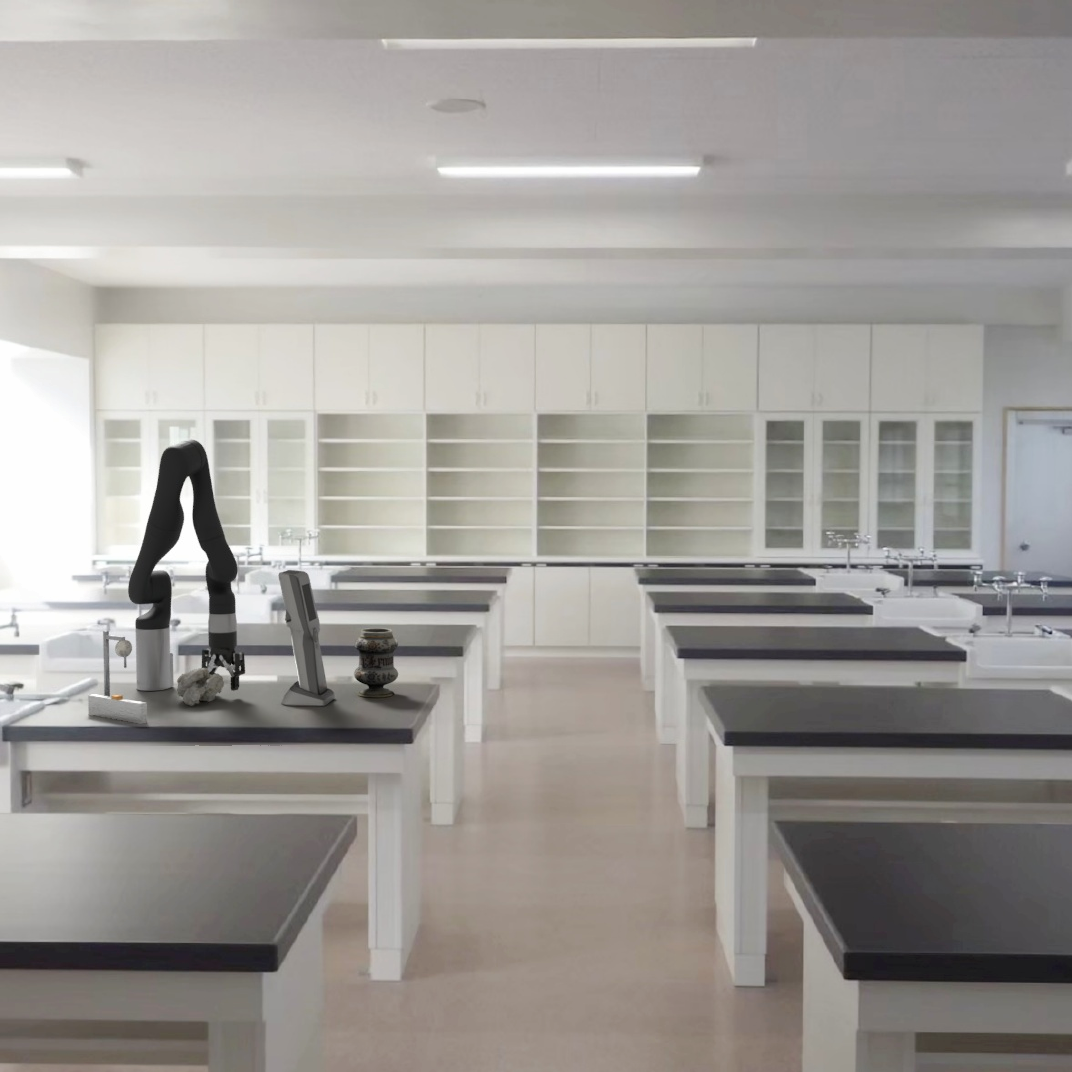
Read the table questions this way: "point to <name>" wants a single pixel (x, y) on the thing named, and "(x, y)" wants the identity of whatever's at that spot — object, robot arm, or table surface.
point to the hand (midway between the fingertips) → (223, 688)
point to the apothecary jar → (376, 661)
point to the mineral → (199, 686)
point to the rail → (118, 708)
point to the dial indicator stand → (121, 650)
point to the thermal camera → (304, 642)
